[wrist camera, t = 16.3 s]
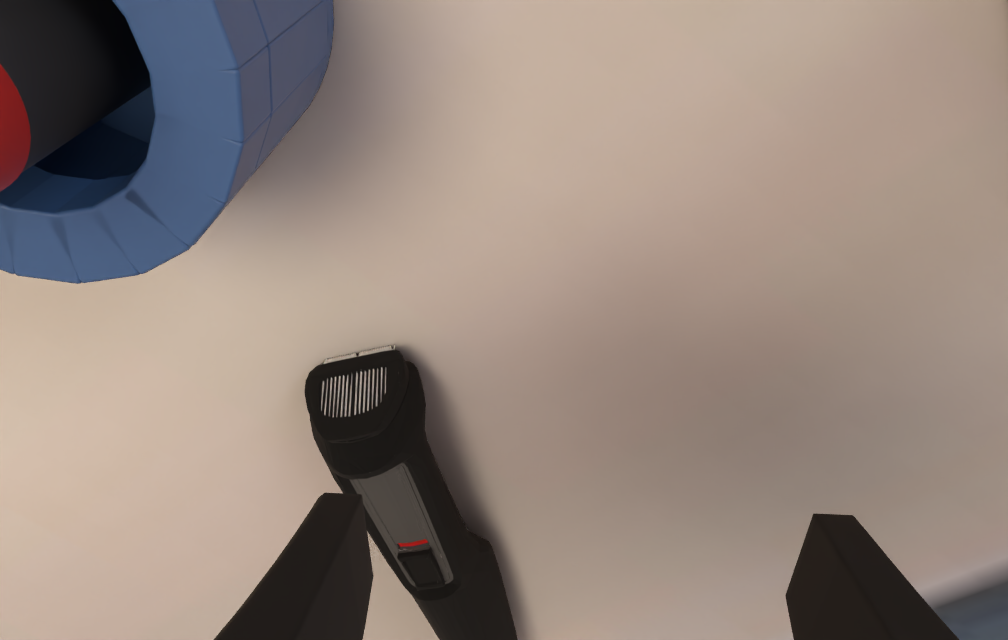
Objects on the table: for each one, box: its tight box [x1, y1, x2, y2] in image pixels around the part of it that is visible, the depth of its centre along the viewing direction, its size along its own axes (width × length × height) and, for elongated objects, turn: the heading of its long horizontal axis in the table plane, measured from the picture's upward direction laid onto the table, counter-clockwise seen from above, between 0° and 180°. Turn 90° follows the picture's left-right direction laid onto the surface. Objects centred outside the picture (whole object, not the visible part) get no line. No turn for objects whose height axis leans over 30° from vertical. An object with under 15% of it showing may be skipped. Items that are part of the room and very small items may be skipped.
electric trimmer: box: [305, 345, 518, 640], centre depth 26 cm, size 4×16×3 cm, turn 16°
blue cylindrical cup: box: [0, 0, 334, 284], centre depth 15 cm, size 8×8×6 cm
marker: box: [0, 0, 151, 192], centre depth 14 cm, size 3×3×9 cm
